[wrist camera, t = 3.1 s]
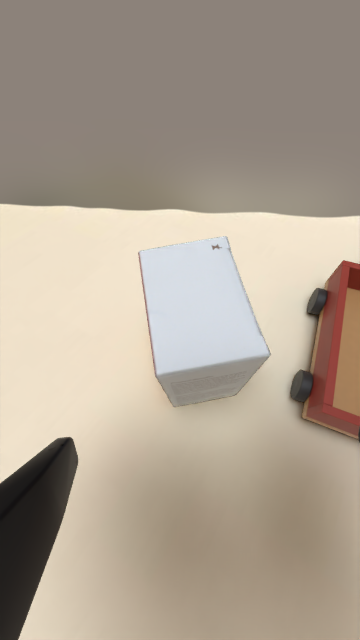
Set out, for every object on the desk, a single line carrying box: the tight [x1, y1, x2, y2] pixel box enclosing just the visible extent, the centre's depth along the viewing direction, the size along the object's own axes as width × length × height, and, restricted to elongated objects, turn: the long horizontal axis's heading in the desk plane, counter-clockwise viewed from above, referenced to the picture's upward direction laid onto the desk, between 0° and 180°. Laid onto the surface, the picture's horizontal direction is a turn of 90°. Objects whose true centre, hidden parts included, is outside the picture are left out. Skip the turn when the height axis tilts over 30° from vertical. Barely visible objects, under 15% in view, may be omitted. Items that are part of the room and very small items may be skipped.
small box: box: [138, 236, 270, 407], centre depth 17 cm, size 8×6×10 cm
